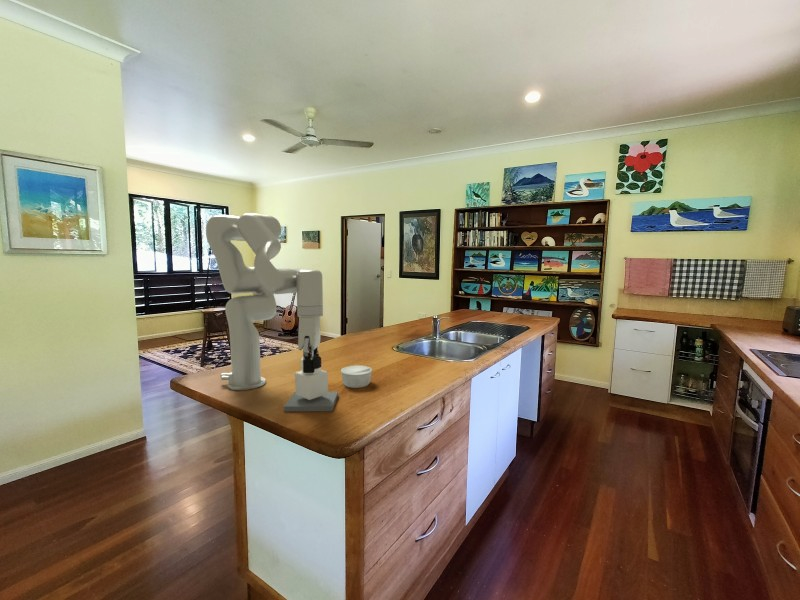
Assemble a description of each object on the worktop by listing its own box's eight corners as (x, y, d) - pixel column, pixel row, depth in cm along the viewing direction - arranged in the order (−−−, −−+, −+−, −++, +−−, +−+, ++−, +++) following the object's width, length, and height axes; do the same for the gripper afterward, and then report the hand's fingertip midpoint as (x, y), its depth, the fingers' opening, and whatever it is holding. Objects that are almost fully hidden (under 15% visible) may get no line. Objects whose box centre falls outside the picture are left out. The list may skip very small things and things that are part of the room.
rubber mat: (284, 411, 104) (283, 406, 104) (294, 396, 116) (294, 391, 116) (332, 410, 104) (332, 406, 104) (338, 395, 116) (338, 391, 116)
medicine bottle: (314, 388, 115) (313, 352, 114) (328, 393, 110) (327, 356, 109) (295, 394, 109) (294, 356, 108) (309, 400, 105) (308, 360, 104)
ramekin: (367, 390, 122) (366, 375, 121) (336, 388, 124) (335, 373, 124) (375, 380, 133) (375, 366, 132) (347, 378, 135) (347, 364, 134)
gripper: (304, 307, 116) (305, 361, 118) (289, 315, 99) (291, 378, 100) (327, 307, 116) (328, 361, 118) (317, 315, 99) (318, 378, 101)
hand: (311, 368), depth 109 cm, fingers closed on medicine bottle, 6 cm apart
